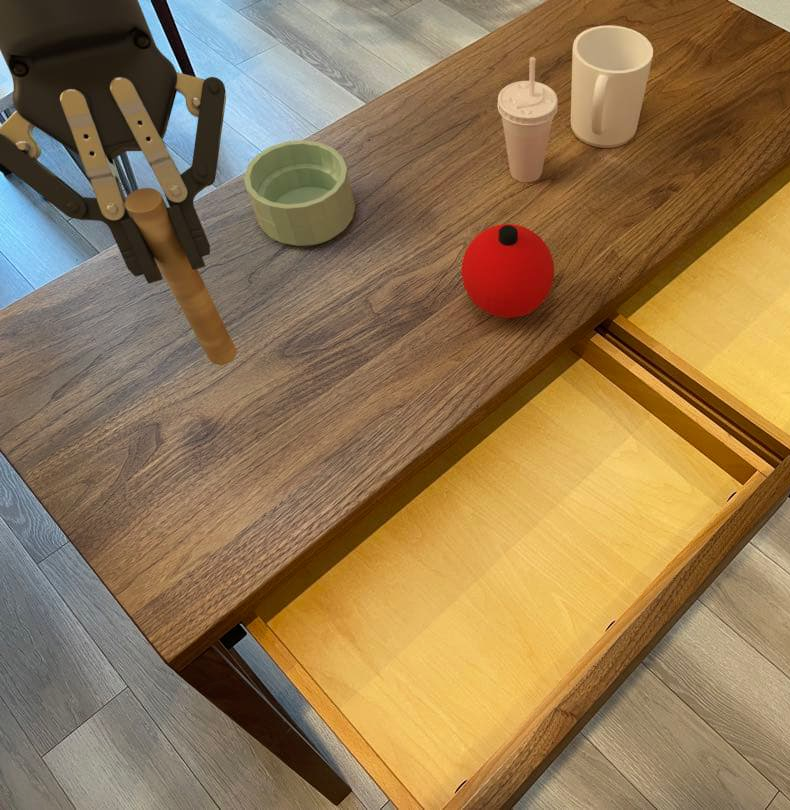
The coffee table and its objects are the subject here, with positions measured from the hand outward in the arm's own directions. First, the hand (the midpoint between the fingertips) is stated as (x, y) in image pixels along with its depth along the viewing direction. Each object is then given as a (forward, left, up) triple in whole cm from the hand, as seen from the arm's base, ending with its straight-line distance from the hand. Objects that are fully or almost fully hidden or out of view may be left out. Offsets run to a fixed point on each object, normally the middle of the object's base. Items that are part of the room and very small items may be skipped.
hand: (177, 273), depth 47 cm
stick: (0, +2, -11) cm, 11 cm away
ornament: (+25, +13, -26) cm, 38 cm away
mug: (+44, +35, -26) cm, 61 cm away
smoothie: (+33, +31, -26) cm, 52 cm away
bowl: (+8, +31, -25) cm, 40 cm away
